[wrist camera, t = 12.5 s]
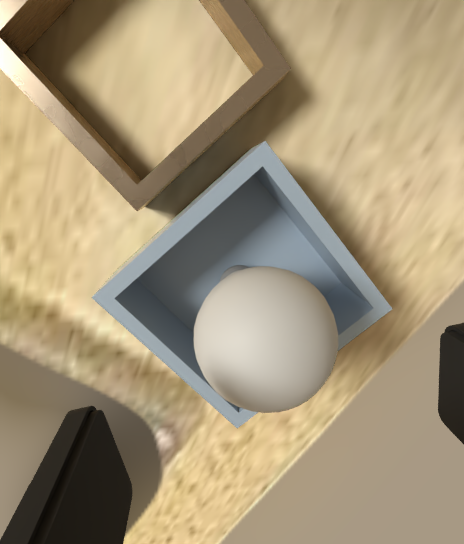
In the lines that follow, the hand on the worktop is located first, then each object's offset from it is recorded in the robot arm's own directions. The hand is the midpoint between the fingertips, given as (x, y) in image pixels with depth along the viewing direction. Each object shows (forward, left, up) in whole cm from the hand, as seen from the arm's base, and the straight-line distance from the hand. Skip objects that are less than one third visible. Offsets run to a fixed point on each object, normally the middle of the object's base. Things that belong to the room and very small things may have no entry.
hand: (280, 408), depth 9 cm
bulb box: (+1, 0, -14) cm, 14 cm away
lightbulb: (+1, 0, -13) cm, 13 cm away
